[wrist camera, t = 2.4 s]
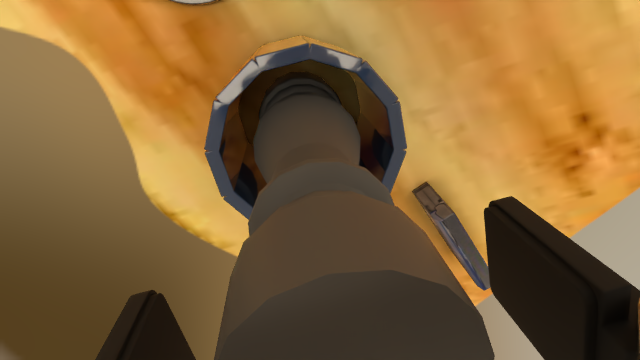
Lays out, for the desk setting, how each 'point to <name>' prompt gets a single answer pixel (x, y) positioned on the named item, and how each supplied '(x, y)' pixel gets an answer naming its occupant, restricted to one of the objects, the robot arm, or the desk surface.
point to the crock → (238, 154)
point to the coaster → (195, 2)
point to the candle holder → (336, 252)
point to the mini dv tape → (454, 234)
